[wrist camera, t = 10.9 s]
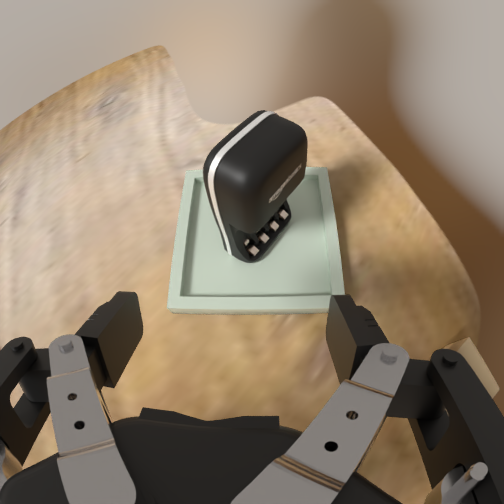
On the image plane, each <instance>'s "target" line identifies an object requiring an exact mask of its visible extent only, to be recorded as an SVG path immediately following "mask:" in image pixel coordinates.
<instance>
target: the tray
mask: <svg viewBox="0 0 504 504" xmlns="http://www.w3.org/2000/svg"><path fill="white" fill-rule="evenodd" d="M287 202H288V204H289V207H290V210H291V220H290V222H289V223H288V225H287V226H286V227H285V229H284V230H283V231H282V232H281V234H280V235H279V236H278V237H277V239H276V240H275V241H274V242H273V244H272V245H271V246H270V247H269V249H268V250H267V251H266V252H265V254H264V255H263V256H262V257H261V258H260V259H259V260H258V261H257V262H254V263H246V262H243V261H241V260H238V259H237V258H235V257H234V256H231V255H229V254H228V252H227V251H226V250H225V249H224V245H223V241H222V238H221V234H220V231H219V228H218V226H217V224H216V221H215V218H214V215H213V213H212V210H211V207H210V204H209V200H208V197H207V193H206V189H205V185H204V180H203V170H189V171H186V175H185V180H184V186H183V192H182V198H181V204H180V210H179V216H178V223H177V229H176V236H175V243H174V251H173V258H172V266H171V275H170V283H169V293H168V302H167V309H169V310H170V311H171V312H172V313H181V314H230V315H261V314H311V313H328V310H329V302H330V297H331V295H345V292H344V282H343V273H342V264H341V256H340V248H339V240H338V233H337V226H336V219H335V213H334V206H333V200H332V194H331V188H330V182H329V177H328V171H327V167H306V170H305V177H304V179H303V180H302V182H301V183H300V184H299V185H298V186H297V188H296V189H295V190H294V191H293V192H292V193H291V194H290V195H289V197H288V198H287Z"/></svg>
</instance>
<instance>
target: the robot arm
mask: <svg viewBox="0 0 504 504" xmlns="http://www.w3.org/2000/svg"><path fill="white" fill-rule="evenodd" d="M142 335H143V322H142V317H141V312H140V307H139V301H138V296H137V294H136V293H135V292H122V291H119V292H117V293H116V294H115V296H114V297H113V298H112V299H111V300H110V301H109V302H106V303H105V304H103V305H101V306H100V307H98V308H97V309H96V311H95V312H94V313H93V315H91V316H90V317H89V319H88V320H87V321H86V322H85V323H84V324H83V325H82V327H81V328H80V329H79V330H78V331H77V332H76V334H75V335H64V336H61V337H58V338H56V339H55V340H54V341H52V343H51V344H50V345H49V348H45V349H35V347H34V345H33V342H32V340H31V339H30V338H27V337H19V338H15V339H13V340H11V341H10V342H8V343H7V344H6V345H5V346H4V347H3V348H2V350H1V351H0V504H402V503H401V502H399V501H398V500H396V499H395V498H393V497H392V496H390V495H389V494H387V493H386V492H384V491H383V490H381V489H380V488H378V487H377V486H376V485H374V484H373V483H371V482H370V481H368V480H367V479H366V478H364V477H363V476H362V475H360V474H359V473H357V471H358V470H359V468H360V466H361V465H362V463H363V461H364V459H365V457H366V456H367V454H368V452H369V450H370V448H371V447H372V445H373V443H374V441H375V439H376V437H377V435H378V433H379V431H380V430H381V428H382V426H383V424H384V422H385V419H386V417H387V416H388V417H399V418H408V420H409V423H410V425H411V428H412V431H413V433H414V436H415V439H416V442H417V445H418V448H419V450H420V453H421V456H422V459H423V462H424V465H425V468H426V471H427V475H428V478H429V481H430V484H431V487H432V491H431V492H430V493H429V494H428V495H427V497H426V499H425V503H424V504H504V417H503V415H502V413H501V412H500V410H499V409H498V407H497V405H496V404H495V402H494V401H493V399H492V397H491V396H490V394H489V393H488V391H487V390H486V388H485V387H484V385H483V384H482V382H481V381H480V379H479V378H478V376H477V375H476V373H475V372H474V371H473V369H472V368H471V366H470V365H469V363H468V362H467V361H466V359H465V358H464V357H463V356H462V355H461V354H460V353H458V352H456V351H454V350H451V349H439V350H436V351H435V352H434V353H433V354H432V356H431V359H430V361H425V360H414V359H409V355H408V353H407V352H406V350H404V349H403V348H402V347H400V346H398V345H395V344H391V343H389V341H388V340H387V338H386V336H385V335H384V333H383V331H382V330H381V328H380V327H379V326H378V323H377V322H376V320H375V318H374V317H373V315H372V314H371V312H370V311H369V310H367V309H366V308H364V307H363V306H356V304H355V303H354V301H353V299H352V298H351V296H350V295H349V294H347V295H331V297H330V302H329V310H328V318H327V325H326V340H327V344H328V347H329V351H330V354H331V357H332V360H333V363H334V366H335V369H336V373H337V376H338V379H339V382H340V386H339V387H338V389H337V390H336V392H335V393H334V394H333V396H332V397H331V398H330V400H329V401H328V402H327V404H326V405H325V406H324V407H323V409H322V410H321V411H320V413H319V414H318V415H317V416H316V418H315V419H314V420H313V421H312V423H311V424H310V425H309V426H308V427H307V429H306V430H305V431H304V432H300V431H298V430H295V429H292V428H288V427H284V426H279V416H241V417H235V418H229V419H222V420H214V421H204V420H200V419H197V418H193V417H190V416H187V415H183V414H180V413H177V412H174V411H166V410H158V409H151V408H144V407H143V408H142V410H141V413H140V416H139V417H130V418H125V419H121V420H118V421H115V422H113V420H112V417H111V415H110V412H109V410H108V407H107V405H106V402H105V399H104V397H103V394H102V392H101V389H102V387H103V386H105V387H111V388H115V386H116V384H117V382H118V380H119V378H120V377H121V375H122V373H123V371H124V369H125V367H126V365H127V364H128V362H129V360H130V358H131V356H132V354H133V353H134V351H135V349H136V347H137V345H138V343H139V342H140V340H141V338H142ZM18 382H19V384H20V386H21V388H22V390H23V392H24V393H23V395H22V396H21V398H20V399H19V401H18V402H17V404H16V405H15V407H14V408H13V407H12V406H11V403H10V394H11V392H12V391H13V389H14V388H15V387H16V385H17V384H18ZM446 410H447V411H446ZM50 412H51V416H52V422H53V428H54V433H55V438H56V442H57V447H58V451H59V452H58V453H56V454H54V455H52V456H50V457H48V458H46V459H44V460H42V461H40V462H38V463H36V464H34V465H32V466H30V467H28V468H26V469H24V470H22V466H23V464H24V462H25V460H26V458H27V456H28V454H29V452H30V450H31V448H32V446H33V444H34V442H35V440H36V438H37V436H38V434H39V433H40V431H41V429H42V427H43V425H44V423H45V421H46V420H47V418H48V416H49V414H50ZM447 412H448V413H447ZM448 415H449V416H448Z"/></svg>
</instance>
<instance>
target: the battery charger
mask: <svg viewBox="0 0 504 504" xmlns="http://www.w3.org/2000/svg"><path fill="white" fill-rule="evenodd" d="M306 162H307V137H306V133H305V131H304V130H303V129H302V127H300V126H299V125H297V124H295V123H294V122H292V121H289V120H287V119H285V118H282V117H280V116H279V115H278V114H277V113H275V112H272V111H265V110H263V111H257V112H256V113H254V114H253V115H251V116H250V117H249V118H247V119H246V120H245V121H244V122H242V123H241V124H240V125H238V126H237V127H236V128H235V129H234V130H233V131H231V132H230V133H229V134H228V135H227V136H226V137H225V138H223V139H222V140H221V141H220V142H219V143H218V144H217V145H216V146H215V147H214V148H213V149H212V150H211V152H210V153H209V155H208V156H207V158H206V161H205V163H204V167H203V180H204V185H205V189H206V193H207V197H208V200H209V204H210V207H211V210H212V213H213V215H214V218H215V221H216V224H217V226H218V228H219V231H220V234H221V238H222V241H223V245H224V249H225V250H226V251H227V252H228V254H229V255H231V256H234V257H235V258H237V259H238V260H241V261H243V262H246V263H254V262H257V261H258V260H259V259H260V258H261V257H262V256H263V255H264V254H265V252H266V251H267V250H268V249H269V247H270V246H271V245H272V244H273V242H274V241H275V240H276V239H277V237H278V236H279V235H280V234H281V232H282V231H283V230H284V229H285V227H286V226H287V225H288V223H289V222H290V220H291V210H290V207H289V204H288V202H287V198H288V197H289V195H290V194H291V193H292V192H293V191H294V190H295V189H296V188H297V186H298V185H299V184H300V183H301V182H302V180H303V179H304V177H305V170H306Z"/></svg>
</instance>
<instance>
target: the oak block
mask: <svg viewBox="0 0 504 504" xmlns="http://www.w3.org/2000/svg"><path fill="white" fill-rule="evenodd" d="M443 349H451V350H454V351H456V352H458V353H460V354H461V355H462V356H463V357H464V358H465V359H466V361H467V362H468V363H469V365H470V366H471V368H472V369H473V371H474V372H475V373H476V375H477V376H478V378H479V379H480V381H481V382H482V384H483V385H484V387H485V388H486V390H487V391H488V393H489V394H490V396H491V397H492V399H493V398H494V396H495V395H496V394H497V392H498V391H499V389H500V388H499V387H498V385H497V383H496V381H495V379H494V378H493V376H492V374H491V372H490V370H489V368H488V367H487V365H486V363H485V362H484V360H483V358H482V357H481V355H480V353H479V352H478V350H477V348H476V347H475V345H474V343H473V342H472V340H471V339H470V337H467V338H465V339H462V340H460V341H457V342H454V343H451V344H449V345H446V346H445V347H444V348H443ZM446 411H447V410H446ZM447 413H448V412H447ZM448 416H449V415H448Z"/></svg>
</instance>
